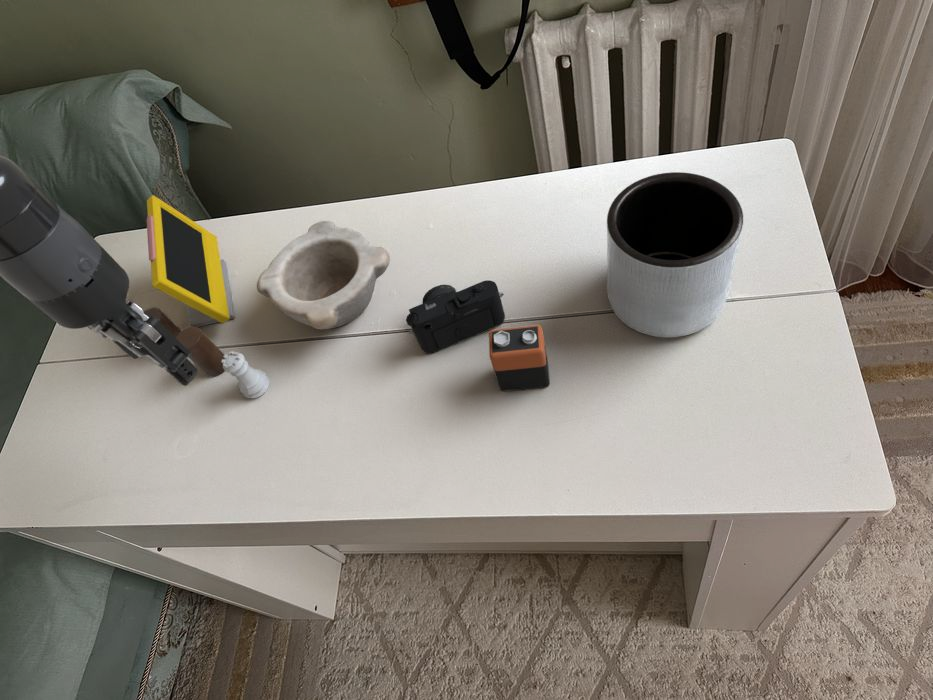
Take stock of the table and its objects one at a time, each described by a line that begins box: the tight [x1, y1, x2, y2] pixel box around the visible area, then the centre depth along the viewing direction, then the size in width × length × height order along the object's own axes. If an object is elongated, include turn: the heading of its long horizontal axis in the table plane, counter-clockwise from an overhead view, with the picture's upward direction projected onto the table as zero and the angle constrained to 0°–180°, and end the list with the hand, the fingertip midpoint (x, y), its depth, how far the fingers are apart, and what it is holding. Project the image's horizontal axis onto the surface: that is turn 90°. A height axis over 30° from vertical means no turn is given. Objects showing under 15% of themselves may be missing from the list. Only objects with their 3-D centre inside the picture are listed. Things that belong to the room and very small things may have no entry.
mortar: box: [256, 220, 391, 330], centre depth 96 cm, size 17×17×9 cm
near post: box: [176, 325, 226, 378], centre depth 95 cm, size 4×4×8 cm
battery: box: [488, 324, 551, 392], centre depth 82 cm, size 4×7×10 cm, turn 90°
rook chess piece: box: [222, 350, 270, 399], centre depth 91 cm, size 4×4×8 cm
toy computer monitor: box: [146, 195, 236, 328], centre depth 100 cm, size 20×8×16 cm, turn 20°
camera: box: [405, 279, 506, 355], centre depth 90 cm, size 14×7×8 cm, turn 110°
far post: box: [143, 307, 183, 338], centre depth 99 cm, size 4×4×8 cm
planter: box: [606, 171, 744, 338], centre depth 82 cm, size 16×16×16 cm
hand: (165, 364), depth 69 cm, fingers open, 8 cm apart
